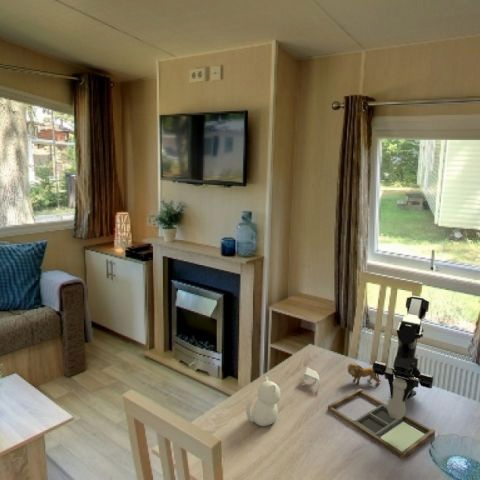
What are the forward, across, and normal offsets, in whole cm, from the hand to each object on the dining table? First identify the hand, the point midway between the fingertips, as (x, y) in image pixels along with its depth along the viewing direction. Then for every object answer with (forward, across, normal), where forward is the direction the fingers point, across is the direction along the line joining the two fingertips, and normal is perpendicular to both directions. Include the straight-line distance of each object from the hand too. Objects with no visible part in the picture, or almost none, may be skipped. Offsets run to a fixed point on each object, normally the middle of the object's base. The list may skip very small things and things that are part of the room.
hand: (397, 399), depth 130 cm
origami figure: (-1, -34, +20) cm, 39 cm away
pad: (+9, +3, +10) cm, 14 cm away
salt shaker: (+4, 0, +6) cm, 7 cm away
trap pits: (+6, -6, +13) cm, 15 cm away
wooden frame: (+6, -6, +13) cm, 15 cm away
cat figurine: (+21, -41, -2) cm, 46 cm away
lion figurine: (-9, -16, +29) cm, 34 cm away
